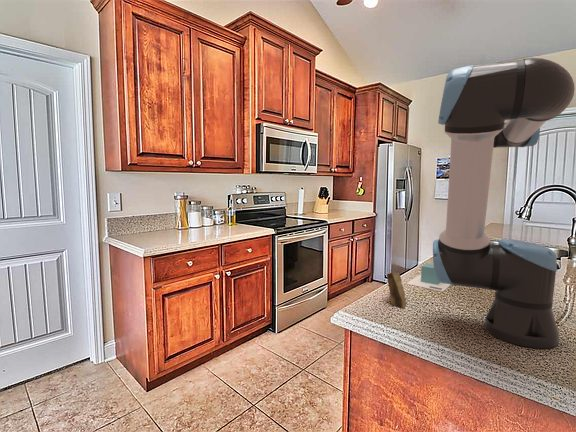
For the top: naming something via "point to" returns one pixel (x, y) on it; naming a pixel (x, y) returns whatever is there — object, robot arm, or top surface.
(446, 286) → the letter
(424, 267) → the teal cube
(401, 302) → the rock
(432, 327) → the top surface
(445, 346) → the top surface
